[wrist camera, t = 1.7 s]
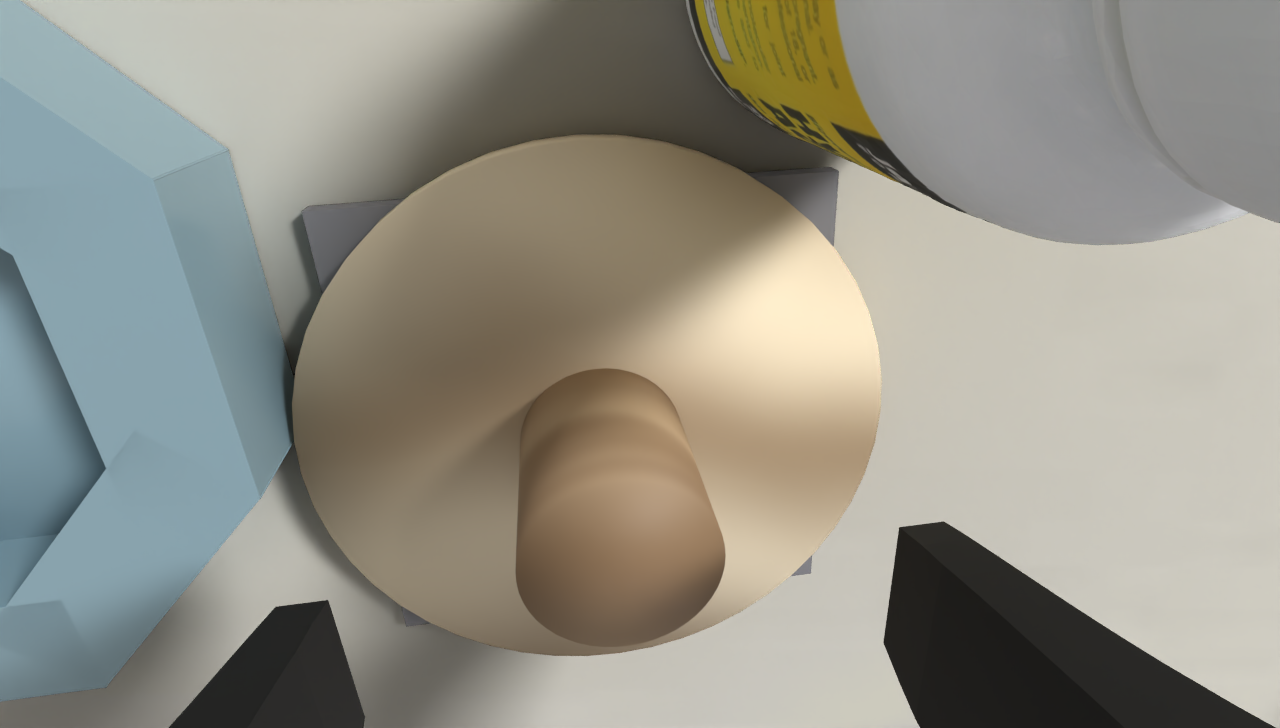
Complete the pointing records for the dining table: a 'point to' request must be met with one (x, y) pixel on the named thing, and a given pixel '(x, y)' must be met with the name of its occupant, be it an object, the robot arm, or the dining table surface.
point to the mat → (350, 222)
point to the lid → (586, 396)
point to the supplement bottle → (1026, 103)
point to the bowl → (118, 360)
